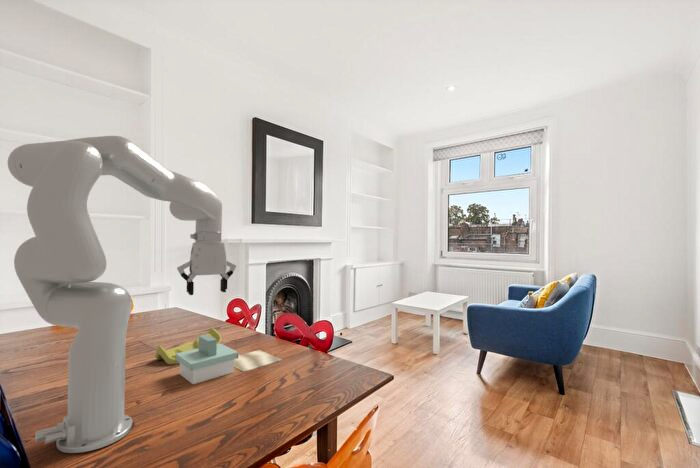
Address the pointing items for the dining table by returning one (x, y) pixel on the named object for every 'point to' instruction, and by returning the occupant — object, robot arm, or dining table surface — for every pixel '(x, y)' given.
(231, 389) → the dining table surface
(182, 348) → the plastic component
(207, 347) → the lid
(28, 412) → the dining table surface
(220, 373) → the tub
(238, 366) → the board
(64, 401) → the dining table surface
